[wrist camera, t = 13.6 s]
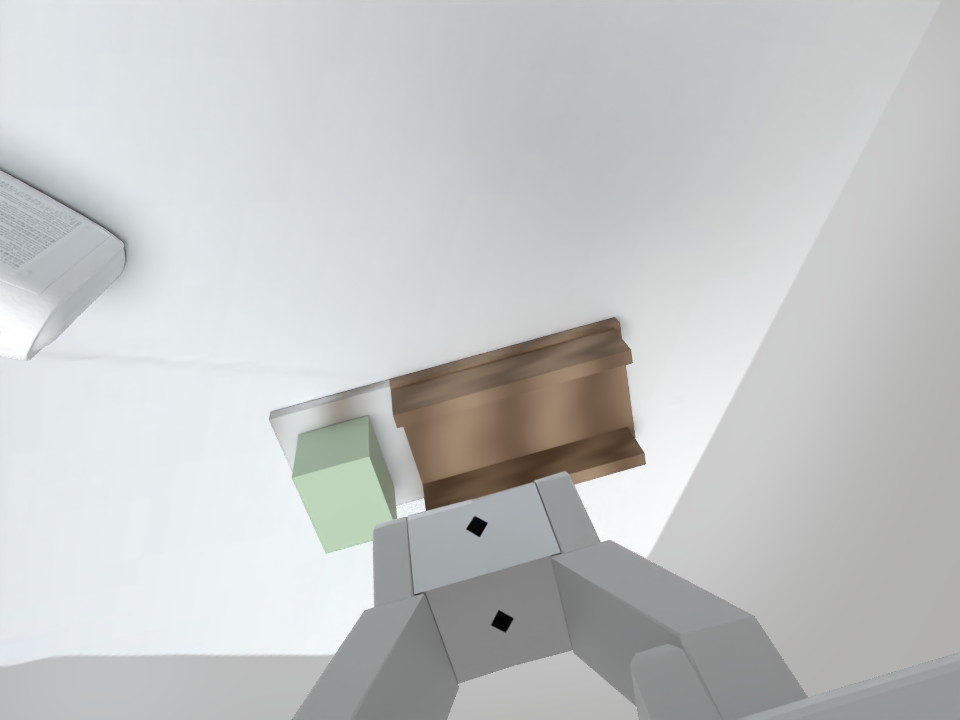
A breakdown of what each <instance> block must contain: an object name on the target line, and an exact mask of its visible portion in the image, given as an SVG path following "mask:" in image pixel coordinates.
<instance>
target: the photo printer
mask: <svg viewBox="0 0 960 720" xmlns="http://www.w3.org/2000/svg"><path fill="white" fill-rule="evenodd" d="M124 246H125V245H124V243H123V242H122V241H121V240H119V239H118V238H117V237H116V236H114V235H113V234H111V233H110V232H109V231H107V230H106V229H104V228H103V227H101V226H99V225H98V224H96V223H94V222H92V221H91V220H89V219H87V218H86V217H84V216H82V215H81V214H79V213H77V212H75V211H73V210H72V209H70V208H68V207H66V206H65V205H63V204H61V203H59V202H57V201H56V200H54V199H52V198H50V197H49V196H47V195H45V194H43V193H41V192H40V191H38V190H36V189H34V188H32V187H30V186H29V185H27V184H25V183H23V182H21V181H20V180H18V179H16V178H14V177H13V176H11V175H9V174H7V173H5V172H3V171H1V170H0V356H1V357H6V358H11V359H17V360H24V361H27V360H30V359H31V358H33V357H34V356H35V355H36V354H37V353H38V352H39V351H40V350H41V349H42V348H43V347H45V346H47V345H49V344H50V343H51V342H53V341H54V340H55V339H56V338H57V337H58V336H59V335H60V334H61V333H62V332H63V331H64V330H65V329H66V328H67V327H68V326H69V325H70V324H71V323H72V322H73V321H74V320H75V319H76V318H77V317H78V316H79V315H80V314H81V313H82V312H83V311H84V310H85V309H86V308H87V307H88V306H90V305H91V304H92V303H93V302H94V301H95V300H96V299H97V298H98V297H99V296H100V295H101V294H102V293H103V292H104V291H105V290H106V289H107V288H108V287H109V286H110V285H111V284H112V282H113V281H114V280H115V279H116V278H117V277H118V276H119V275H120V274H121V272H122V270H123V268H124V265H125V252H124V249H123V247H124Z"/></svg>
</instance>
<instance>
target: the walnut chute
mask: <svg viewBox="0 0 960 720" xmlns="http://www.w3.org/2000/svg"><path fill="white" fill-rule="evenodd" d="M631 363H633V362H632V354H631V349H630V348H629V347H628V346H627V344H626V343H625V342H624V341H623V340H622V337H621V329H620V323H619V322H618V321H617V319H616V318H611V319H607V320H604V321H600V322H597V323H593V324H589V325H586V326H582V327H578V328H575V329H571V330H567V331H564V332H560V333H557V334H553V335H549V336H546V337H542V338H538V339H535V340H531V341H527V342H524V343H520V344H517V345H513V346H509V347H506V348H502V349H498V350H495V351H491V352H487V353H484V354H480V355H477V356H473V357H469V358H466V359H462V360H458V361H455V362H451V363H447V364H444V365H440V366H437V367H433V368H429V369H426V370H422V371H418V372H415V373H411V374H407V375H404V376H400V377H397V378H393V379H389V380H386V381H382V382H378V383H375V384H371V385H368V386H364V387H360V388H357V389H353V390H349V391H346V392H342V393H338V394H335V395H331V396H328V397H324V398H320V399H317V400H313V401H309V402H306V403H302V404H298V405H295V406H291V407H288V408H284V409H280V410H277V411H273V412H271V413H270V417H269V421H270V423H271V426H272V428H273V430H274V432H275V434H276V437H277V439H278V441H279V443H280V446H281V448H282V450H283V452H284V455H285V457H286V459H287V461H288V463H289V466H290V468H291V470H292V472H293V467H294V460H295V454H296V447H297V440H298V435H299V434H303V433H306V432H310V431H314V430H317V429H321V428H324V427H328V426H332V425H335V424H339V423H342V422H346V421H350V420H353V419H357V418H361V417H364V416H369V419H370V421H371V424H372V427H373V430H374V432H375V435H376V438H377V441H378V443H379V446H380V449H381V452H382V454H383V457H384V460H385V463H386V466H387V468H388V471H389V474H390V477H391V479H392V482H393V485H394V488H395V500H396V506H397V505H401V504H404V503H408V502H411V501H415V500H419V499H422V498H424V499H425V507H426V511H428V510H432V509H436V508H440V507H444V506H448V505H451V504H455V503H459V502H463V501H467V500H472V499H475V498H479V497H482V496H486V495H489V494H493V493H496V492H500V491H503V490H507V489H510V488H514V487H517V486H520V485H524V484H527V483H531V482H534V480H538V479H541V478H544V477H547V476H551V475H554V474H557V473H560V472H564V471H565V472H567V473H568V474H569V475H570V477H571V480H572V482H573V484H578V483H581V482H585V481H588V480H592V479H595V478H599V477H602V476H606V475H609V474H613V473H616V472H620V471H624V470H627V469H631V468H634V467H638V466H641V465H645V464H646V461H645V454H644V452H643V450H642V449H641V447H640V446H639V444H638V442H637V441H636V439H635V431H634V424H633V417H632V410H631V402H630V395H629V388H628V380H627V373H626V366H625V365H627V364H631Z"/></svg>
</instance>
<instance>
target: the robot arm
mask: <svg viewBox="0 0 960 720" xmlns="http://www.w3.org/2000/svg"><path fill="white" fill-rule="evenodd" d="M373 572H374V608H371V609H368V610H365V611H364V612H363V613H362V615H361V616H360V618H359V619H358V621H357V622H356V624H355V625H354V627H353V628H352V630H351V631H350V633H349V634H348V636H347V637H346V639H345V640H344V642H343V643H342V645H341V646H340V648H339V649H338V651H337V652H336V654H335V655H334V657H333V658H332V660H331V661H330V663H329V664H328V666H327V667H326V669H325V670H324V672H323V673H322V675H321V676H320V678H319V679H318V681H317V682H316V684H315V685H314V687H313V688H312V690H311V691H310V693H309V694H308V696H307V697H306V699H305V700H304V702H303V703H302V705H301V706H300V708H299V709H298V711H297V712H296V714H295V715H294V717H293V718H292V720H447V718H448V715H449V712H450V710H451V707H452V704H453V702H454V699H455V697H456V694H457V691H458V689H459V686H458V684H459V683H462V682H465V681H468V680H471V679H474V678H477V677H480V676H483V675H486V674H490V673H493V672H496V671H499V670H502V669H505V668H508V667H511V666H514V665H518V664H521V663H526V662H529V661H533V660H537V659H540V658H545V657H549V656H552V655H556V654H560V653H564V652H568V651H571V650H573V652H574V654H576V655H577V656H578V657H579V658H580V659H581V660H583V661H584V662H585V663H586V664H587V665H588V666H590V667H591V668H592V669H593V670H594V671H595V672H597V673H598V674H599V675H600V676H601V677H602V678H604V679H605V680H606V681H607V682H608V683H609V684H611V685H612V686H613V687H614V688H615V689H616V690H618V691H619V692H620V693H621V694H623V695H624V696H625V697H626V698H627V699H628V700H629V701H631V702H632V703H633V704H634V705H635V706H636V707H637V711H638V716H639V720H960V652H959V653H956V654H952V655H949V656H945V657H942V658H939V659H935V660H932V661H928V662H925V663H922V664H918V665H916V666H912V667H909V668H905V669H902V670H899V671H895V672H892V673H888V674H886V675H882V676H878V677H875V678H872V679H869V680H865V681H862V682H858V683H855V684H852V685H848V686H845V687H841V688H838V689H835V690H831V691H829V692H825V693H821V694H818V695H815V696H811V697H808V696H807V695H806V693H805V692H804V690H803V689H802V687H801V686H800V684H799V683H798V681H797V680H796V678H795V677H794V675H793V674H792V672H791V671H790V669H789V668H788V666H787V665H786V663H785V662H784V660H783V659H782V657H781V656H780V654H779V652H778V651H777V649H776V648H775V647H774V645H773V643H772V642H771V640H770V639H769V637H768V636H767V634H766V633H765V631H764V630H763V628H762V627H761V625H760V624H759V622H758V621H757V619H756V618H755V616H753V615H751V614H749V613H748V612H746V611H744V610H742V609H740V608H738V607H736V606H734V605H732V604H730V603H729V602H727V601H725V600H723V599H721V598H719V597H717V596H715V595H714V594H712V593H709V592H708V591H706V590H704V589H702V588H700V587H698V586H696V585H695V584H693V583H691V582H689V581H687V580H685V579H683V578H681V577H680V576H678V575H676V574H674V573H672V572H670V571H668V570H666V569H664V568H663V567H661V566H659V565H657V564H655V563H653V562H651V561H649V560H647V559H646V558H644V557H642V556H640V555H638V554H636V553H634V552H632V551H630V550H629V549H627V548H625V547H623V546H621V545H619V544H617V543H615V542H613V541H612V540H608V541H604V542H600V540H599V538H598V536H597V533H596V531H595V529H594V527H593V525H592V523H591V520H590V518H589V516H588V514H587V512H586V510H585V508H584V505H583V503H582V501H581V499H580V497H579V495H578V492H577V490H576V488H575V486H574V484H573V482H572V480H571V477H570V475H569V474H568V473H567V472H565V471H564V472H560V473H557V474H554V475H551V476H547V477H544V478H541V479H538V480H534V482H531V483H527V484H524V485H520V486H517V487H514V488H510V489H507V490H503V491H500V492H496V493H493V494H489V495H486V496H482V497H479V498H475V499H472V500H467V501H463V502H459V503H455V504H451V505H448V506H444V507H440V508H436V509H432V510H428V511H424V512H421V513H417V514H413V515H409V516H408V517H403V518H399V519H395V520H392V521H388V522H384V523H380V524H377V525H375V527H374V530H373Z"/></svg>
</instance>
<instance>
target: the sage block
mask: <svg viewBox="0 0 960 720" xmlns="http://www.w3.org/2000/svg"><path fill="white" fill-rule="evenodd" d="M292 479H293V482H294V484H295V486H296V488H297V490H298V493H299V495H300V497H301V499H302V502H303V504H304V506H305V508H306V510H307V513H308V515H309V517H310V519H311V521H312V524H313V526H314V528H315V530H316V533H317V535H318V537H319V539H320V541H321V544H322V546H323V548H324V550H325V552H326V554H327V553H330V552H334V551H337V550H341V549H344V548H348V547H352V546H355V545H359V544H362V543H366V542H369V541H373V530H374V527H375V525H377V524H380V523H384V522H388V521H392V520H395V519H397V514H396V500H395V488H394V485H393V482H392V479H391V477H390V474H389V471H388V468H387V466H386V463H385V460H384V457H383V454H382V452H381V449H380V446H379V443H378V441H377V438H376V435H375V432H374V430H373V427H372V424H371V421H370V419H369V416H364V417H361V418H357V419H353V420H350V421H346V422H342V423H339V424H335V425H332V426H328V427H324V428H321V429H317V430H314V431H310V432H306V433H303V434H299V435H298V440H297V447H296V454H295V460H294V467H293V474H292Z"/></svg>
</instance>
